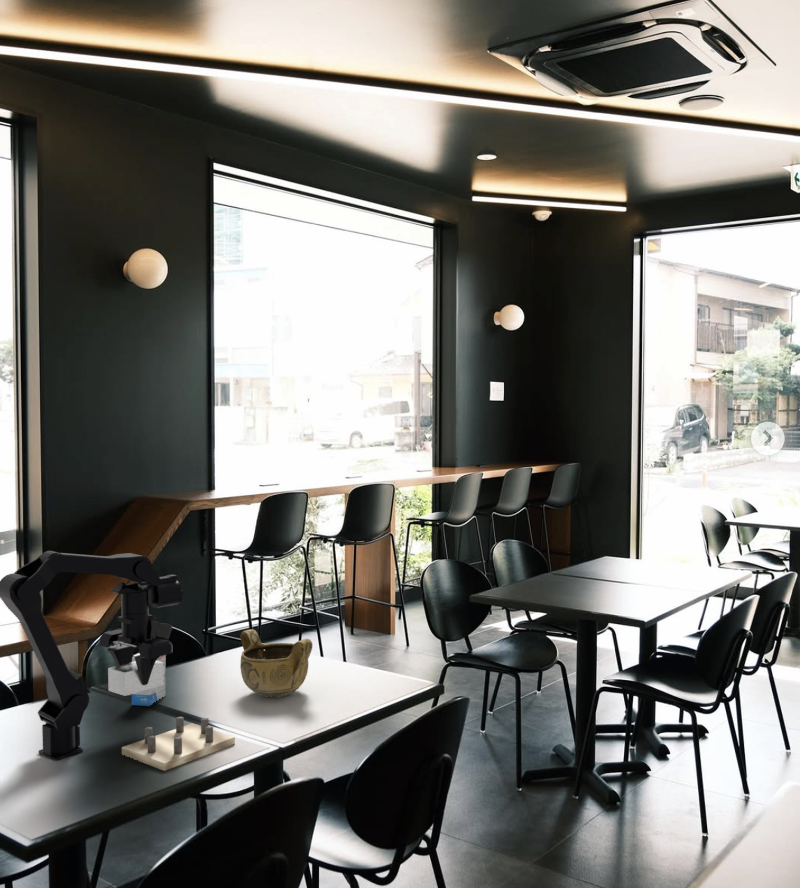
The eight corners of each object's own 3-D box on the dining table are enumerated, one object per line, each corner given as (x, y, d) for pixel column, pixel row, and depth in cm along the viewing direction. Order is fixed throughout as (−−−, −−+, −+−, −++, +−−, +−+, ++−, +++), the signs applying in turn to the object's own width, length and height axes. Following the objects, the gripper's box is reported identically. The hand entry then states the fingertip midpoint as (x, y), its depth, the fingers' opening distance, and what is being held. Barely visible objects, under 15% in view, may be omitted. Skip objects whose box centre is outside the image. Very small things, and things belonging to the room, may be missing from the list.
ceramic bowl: (331, 693, 223) (330, 633, 222) (283, 712, 209) (282, 648, 209) (267, 678, 236) (267, 622, 236) (218, 694, 223) (217, 634, 222)
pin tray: (164, 770, 175) (164, 748, 175) (121, 754, 183) (121, 732, 183) (234, 744, 189) (234, 722, 189) (192, 730, 198) (191, 709, 197)
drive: (125, 696, 191) (124, 672, 191) (108, 690, 194) (108, 667, 194) (163, 684, 199) (163, 662, 198) (147, 680, 202) (146, 658, 202)
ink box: (150, 706, 214) (149, 657, 213) (131, 705, 215) (130, 656, 214) (166, 695, 222) (166, 648, 222) (148, 694, 223) (147, 647, 223)
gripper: (192, 610, 197) (193, 681, 197) (140, 600, 208) (141, 666, 209) (149, 619, 188) (150, 693, 188) (98, 608, 199) (99, 678, 200)
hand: (136, 682), depth 196 cm, fingers closed on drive, 6 cm apart
